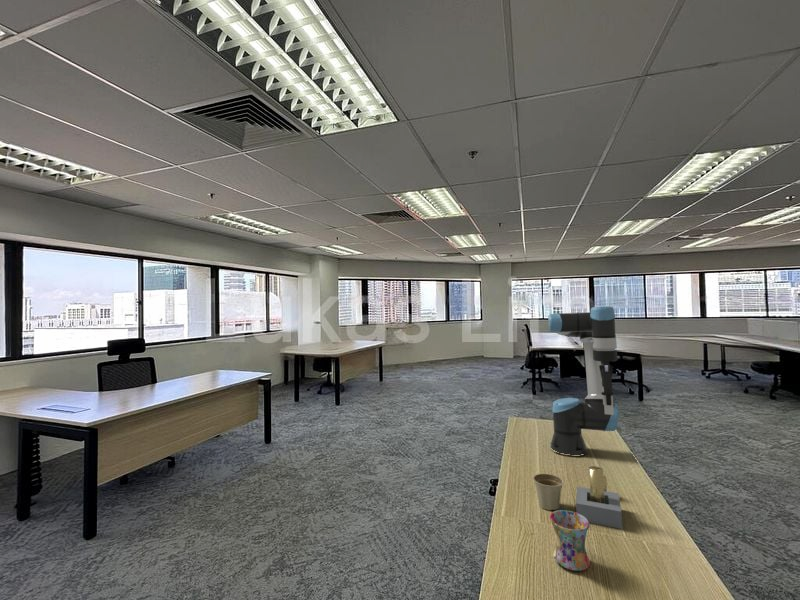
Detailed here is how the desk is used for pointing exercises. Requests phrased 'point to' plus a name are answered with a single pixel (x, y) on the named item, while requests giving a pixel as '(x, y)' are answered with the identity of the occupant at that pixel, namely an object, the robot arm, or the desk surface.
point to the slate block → (599, 508)
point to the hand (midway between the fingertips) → (608, 409)
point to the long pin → (596, 484)
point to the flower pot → (548, 490)
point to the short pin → (605, 483)
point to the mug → (570, 539)
